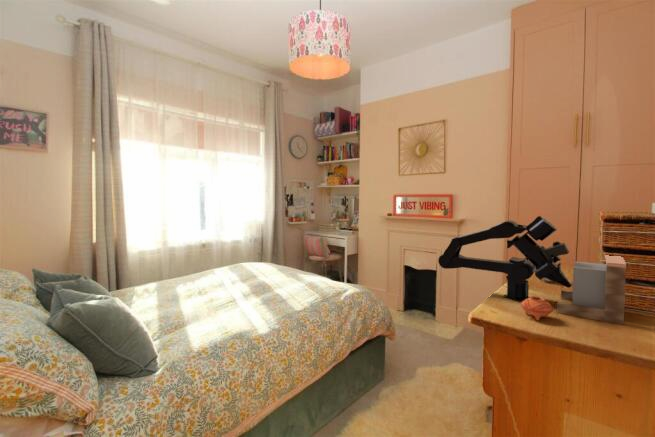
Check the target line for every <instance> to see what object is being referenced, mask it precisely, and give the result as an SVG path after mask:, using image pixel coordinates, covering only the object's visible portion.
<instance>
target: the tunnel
mask: <svg viewBox="0 0 655 437" xmlns="http://www.w3.org/2000/svg"><path fill="white" fill-rule="evenodd" d="M604 260H606V289H605V309H598V308H592V307H586V306H580V305H573V304H572V303H567V302H566V303H565V302H560V301H557V303H556V304H557V305H556V313H557V314H561V315H566V316H567V315H568V316H573V317H578V318H585V319H591V320H595V321H596V320H597V321H600V322H601V321H602V322H607V323H613V324H619V325H625V322H624V321H625V304H626V303H625V302H626V300H625V298H626V280H627V279H626V276H627V263H626V261H625V258H624V257H621V256H609V255H605V254H604ZM560 292H561V293H560V299H561V300H565V301H571V302H572V295H573V290H567V289H561V291H560Z"/></svg>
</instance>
